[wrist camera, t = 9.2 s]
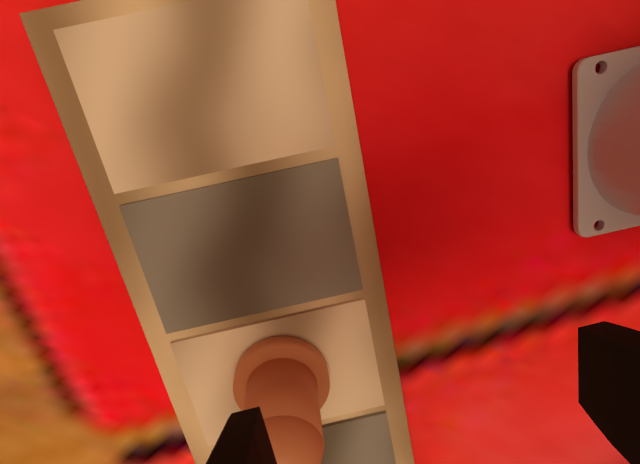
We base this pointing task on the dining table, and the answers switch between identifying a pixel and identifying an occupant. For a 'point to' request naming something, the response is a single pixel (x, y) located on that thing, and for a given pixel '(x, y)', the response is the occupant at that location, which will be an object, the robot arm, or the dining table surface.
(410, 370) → the dining table surface
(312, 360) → the pawn
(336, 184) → the board
